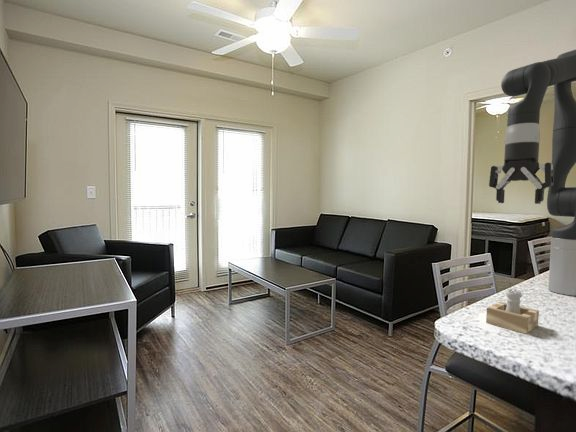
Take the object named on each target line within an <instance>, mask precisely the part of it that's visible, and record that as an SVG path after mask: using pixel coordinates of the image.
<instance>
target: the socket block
mask: <svg viewBox="0 0 576 432" xmlns="http://www.w3.org/2000/svg"><path fill="white" fill-rule="evenodd" d="M506 307H507V302H503V301H499V302H496V303H494V304H493V305H490V306H488V307H486V315H485V316H486V317H485V319H486V321H485V322H486V323H487V324H490V325H493V326H498V327H501V328H503V329H504V328H505V329H508V330H511V331H515V332H518V333H522V334H527V333H529V332H531V331H532V330H534V329H535V328H537V327H538V326H539V319H540V318H539V315H540V310H537V309H533V308H529V307H524V306H521V305H520V313H521V314H517V313H512V312H508V311H505V310H506Z"/></svg>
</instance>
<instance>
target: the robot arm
mask: <svg viewBox="0 0 576 432" xmlns="http://www.w3.org/2000/svg"><path fill="white" fill-rule="evenodd" d="M574 82H576V49H573V50H570V51H566V52H564V53H561V54H559V55H558V56H557V57H556V58H551V59H548V60H544V61H538V62H533V63H530V64H527V65H524V66H520V67H518V68H515V69H514V68H513V69H512V70H509V71H507V73H505V75H503V77H502V80H501V84H500V86H501V90H502V92H503V93H504V94H505V95H506V96H509V97H518V96H522V95H525V96H524V97H523V99H521V100H519V101H517V102H515V103H513V104H511V105H510V106H509V108H508V109H507V110H508V111H507V119H506V120H507V124H506V132H505V140H504V160H503V161H504V162H503V165H502V166H501V165H500V166H497V165H491V167H490V174H489V181H488V186H489V187H490V188H492V189H495V190H496V192H495V193H496V194H495V195H496V196H495V200H496V201H497V203H498V204H504V203H505V193H506V192H505V188H506V187H507V185H508V184H510V183H511V182H519V181H524V182H525V181H526V182H527V181H530V182H531V183H532V184H533V186H534V187H535V188H536V189H535V191H534V192H535V193H534V204H535V205H541V203H542V202H544V198H545V189H547V188H548V189H547V198H546V207H547V208H546V209H547V212H548V213H549V215H551V216H554V217H567V218H568V217H569V218H570V217H572V218H573V217H574V218H573V221H572V222H570V223H568V224H565V225H562V226H560V227H559V226H557V227H554V228H552V229H551V235H550V236H551V237H550V254H549V268H548V269H549V271H548V272H549V273H548V287H547V288H548V289H547V290H548V291H550V292H552V293H557V294H561V295H565V296H566V295H567V296H575V297H576V186H574V187H572V186H571V187H566V181H567V177H568V176H569V174H570V172H571V170H572V169H573V167H575V165H576V99H575V98H574V96H573V92H572V83H574ZM551 86H553V91H554V92H553V94H554V113H553V124H552V125H553V126H552V139H551V144H552V145H551V146H552V147H551V162H545V163H539V156H540V155H539V153H540V140H541V139H540V135H541V133H540V132H541V131H540V119H541V118H540V117H541V116H540V114H541V108H542V107H541V106H542V103H543V101H544V97H545V95H546V92H547V89H548V88H549V87H551ZM540 169H541V172H543V173H544V182H542V181H541V179H540V178H539V177H538V175H536V174H537V173H538V171H540ZM502 172H503V173H504V174H505V175H503V177H502V178H501V179H500V181H499V182H498V180H499V175H500V174H501V173H502Z"/></svg>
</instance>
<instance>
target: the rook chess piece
mask: <svg viewBox="0 0 576 432" xmlns="http://www.w3.org/2000/svg"><path fill="white" fill-rule="evenodd" d="M505 295H506V296H507V298H506V303H507V307H506V310H505V311H508V312H512V313H517V314H521V313H520V306H521V304H520V303H521V298H522V297H523V295H522V293H521V290H518V289H514V288H513V289H512V288H508V289H507V291H506V292H505Z"/></svg>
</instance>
